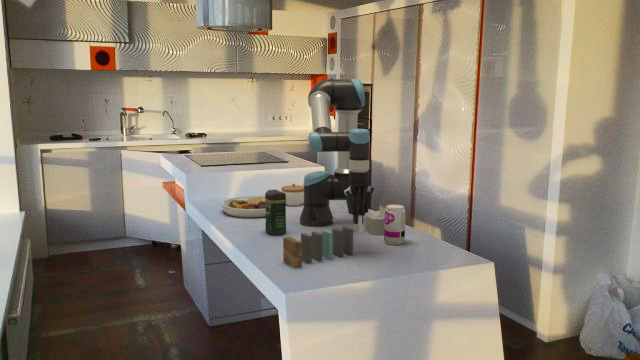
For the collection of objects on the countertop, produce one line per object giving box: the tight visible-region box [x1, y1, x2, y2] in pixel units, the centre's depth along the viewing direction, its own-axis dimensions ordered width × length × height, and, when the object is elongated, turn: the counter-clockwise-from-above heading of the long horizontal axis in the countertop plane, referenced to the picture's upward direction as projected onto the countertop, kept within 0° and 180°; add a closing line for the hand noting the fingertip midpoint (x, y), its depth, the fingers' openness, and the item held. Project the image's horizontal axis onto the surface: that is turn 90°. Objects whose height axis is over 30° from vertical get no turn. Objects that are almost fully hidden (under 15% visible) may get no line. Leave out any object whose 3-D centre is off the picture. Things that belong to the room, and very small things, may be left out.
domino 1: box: [300, 232, 313, 264], centre depth 220 cm, size 2×5×10 cm, turn 32°
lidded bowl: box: [280, 183, 304, 207], centre depth 314 cm, size 13×13×11 cm
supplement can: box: [383, 203, 406, 246], centre depth 244 cm, size 8×8×15 cm
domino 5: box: [341, 226, 354, 257], centre depth 229 cm, size 2×5×10 cm, turn 32°
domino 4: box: [331, 227, 344, 259], centre depth 227 cm, size 2×5×10 cm, turn 32°
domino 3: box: [321, 229, 334, 261], centre depth 225 cm, size 2×5×10 cm, turn 32°
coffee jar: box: [264, 189, 287, 236], centre depth 258 cm, size 10×8×19 cm
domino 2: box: [311, 231, 323, 262], centre depth 222 cm, size 2×5×10 cm, turn 32°
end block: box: [282, 236, 303, 268], centre depth 217 cm, size 3×8×9 cm, turn 32°
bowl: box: [221, 195, 266, 219], centre depth 298 cm, size 30×30×8 cm
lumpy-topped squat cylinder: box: [365, 210, 385, 236], centre depth 261 cm, size 10×13×9 cm
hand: (358, 231), depth 231 cm, fingers closed
